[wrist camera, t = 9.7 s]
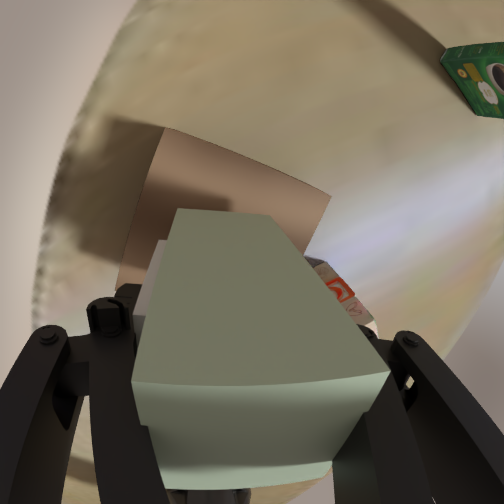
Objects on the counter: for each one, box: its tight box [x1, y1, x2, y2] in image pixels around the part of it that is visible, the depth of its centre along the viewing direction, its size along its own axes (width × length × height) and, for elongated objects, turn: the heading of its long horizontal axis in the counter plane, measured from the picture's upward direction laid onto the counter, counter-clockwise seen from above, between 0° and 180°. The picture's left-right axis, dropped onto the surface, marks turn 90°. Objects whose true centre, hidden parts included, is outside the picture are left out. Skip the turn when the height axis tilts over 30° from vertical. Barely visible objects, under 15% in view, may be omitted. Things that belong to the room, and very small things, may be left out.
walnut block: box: [115, 127, 332, 291], centre depth 21 cm, size 11×11×5 cm
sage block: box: [131, 208, 391, 490], centre depth 11 cm, size 5×5×12 cm
